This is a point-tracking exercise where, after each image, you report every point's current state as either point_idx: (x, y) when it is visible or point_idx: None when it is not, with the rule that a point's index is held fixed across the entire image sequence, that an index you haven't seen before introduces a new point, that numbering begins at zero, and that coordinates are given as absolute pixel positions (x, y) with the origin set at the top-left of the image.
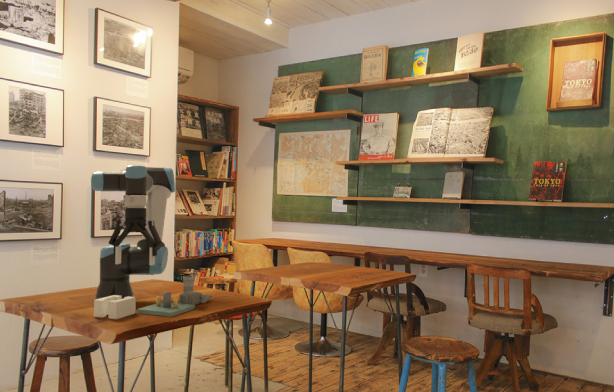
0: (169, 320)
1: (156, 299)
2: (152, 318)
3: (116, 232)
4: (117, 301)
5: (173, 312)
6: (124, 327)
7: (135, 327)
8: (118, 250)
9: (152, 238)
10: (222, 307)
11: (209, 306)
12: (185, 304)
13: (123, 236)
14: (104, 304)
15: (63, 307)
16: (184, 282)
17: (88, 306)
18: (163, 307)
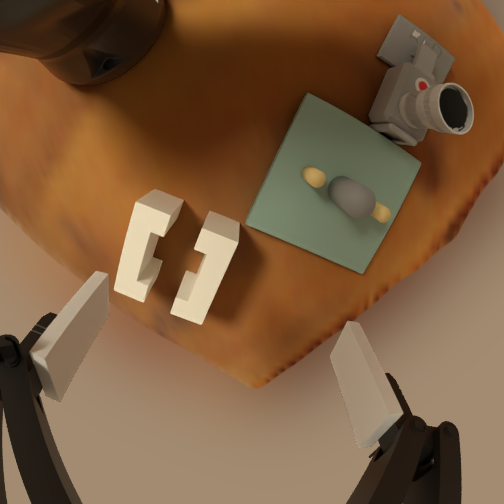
0: (354, 303)
1: (308, 182)
2: (308, 285)
3: (4, 493)
4: (199, 315)
5: (367, 265)
6: (257, 360)
7: (282, 360)
8: (69, 367)
9: (405, 485)
10: (473, 157)
11: (447, 136)
12: (395, 155)
13: (77, 495)
14: (150, 285)
15: (13, 156)
16: (430, 125)
17: (58, 130)
18: (331, 200)
